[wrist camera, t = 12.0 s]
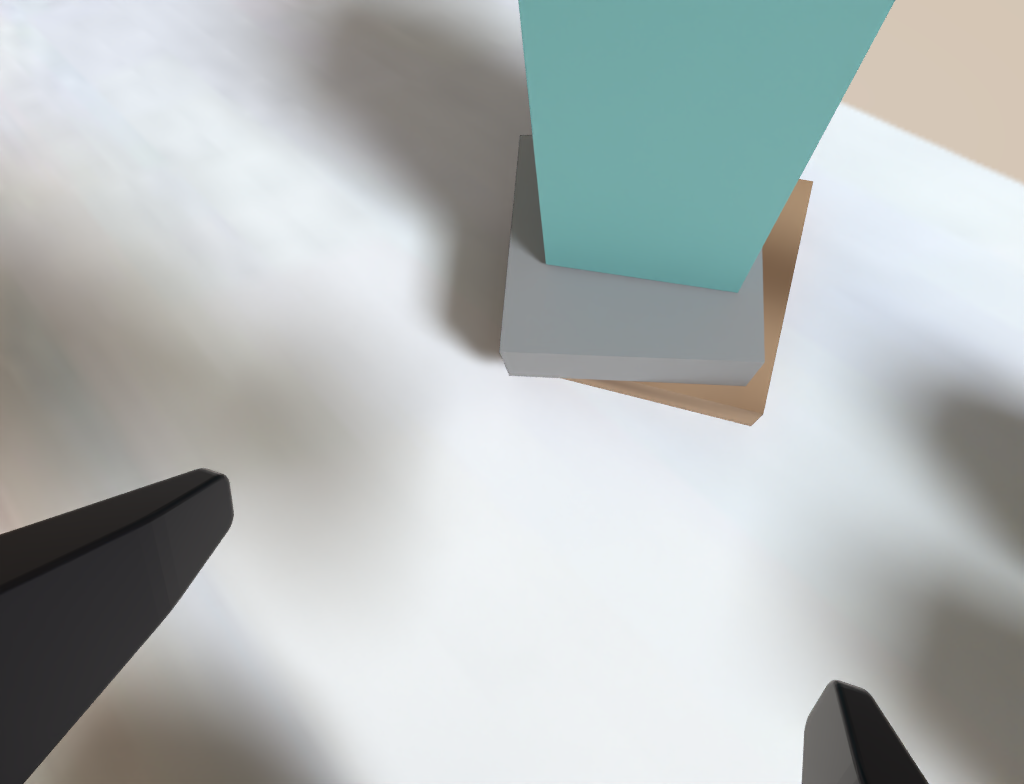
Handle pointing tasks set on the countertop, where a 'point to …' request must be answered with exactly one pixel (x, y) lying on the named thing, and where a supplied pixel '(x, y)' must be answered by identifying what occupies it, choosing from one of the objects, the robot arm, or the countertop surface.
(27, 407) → the countertop surface
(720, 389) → the tower base
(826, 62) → the column
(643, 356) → the tower top
